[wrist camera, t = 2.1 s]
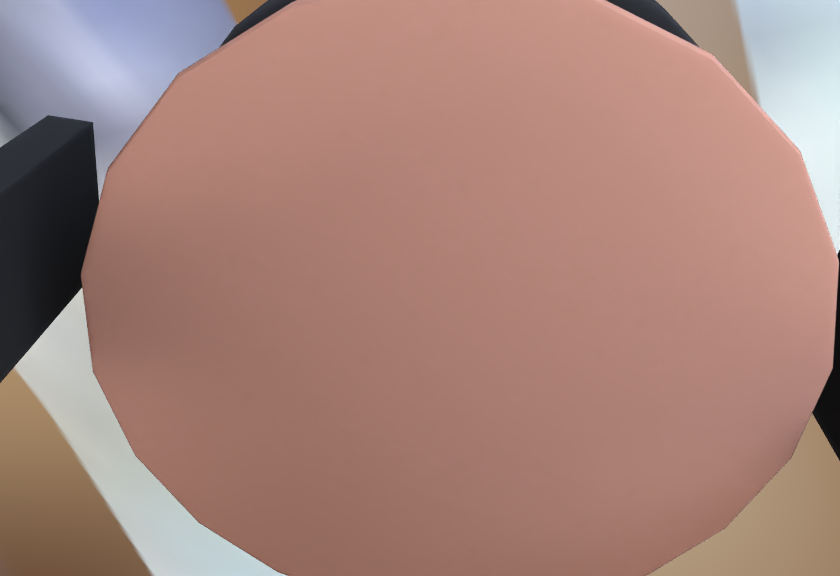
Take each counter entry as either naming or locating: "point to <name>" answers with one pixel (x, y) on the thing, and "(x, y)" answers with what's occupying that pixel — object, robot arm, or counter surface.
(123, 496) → the counter surface
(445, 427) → the coffee jar
